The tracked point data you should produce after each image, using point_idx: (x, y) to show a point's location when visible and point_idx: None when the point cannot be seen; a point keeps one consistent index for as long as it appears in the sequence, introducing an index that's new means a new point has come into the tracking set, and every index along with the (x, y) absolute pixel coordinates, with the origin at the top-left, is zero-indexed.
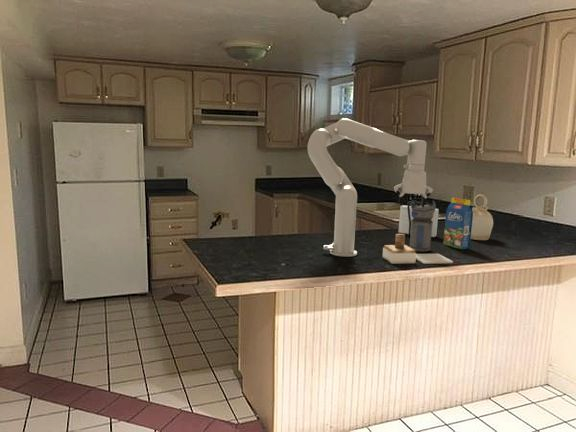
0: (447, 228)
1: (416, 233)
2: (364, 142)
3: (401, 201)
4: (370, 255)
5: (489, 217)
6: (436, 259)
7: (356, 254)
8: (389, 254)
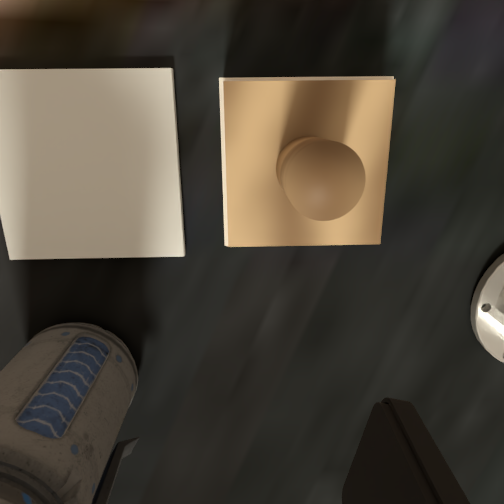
0: None
1: (87, 401)
2: None
3: (445, 467)
4: (410, 263)
5: None
6: (67, 123)
7: (492, 265)
8: None
